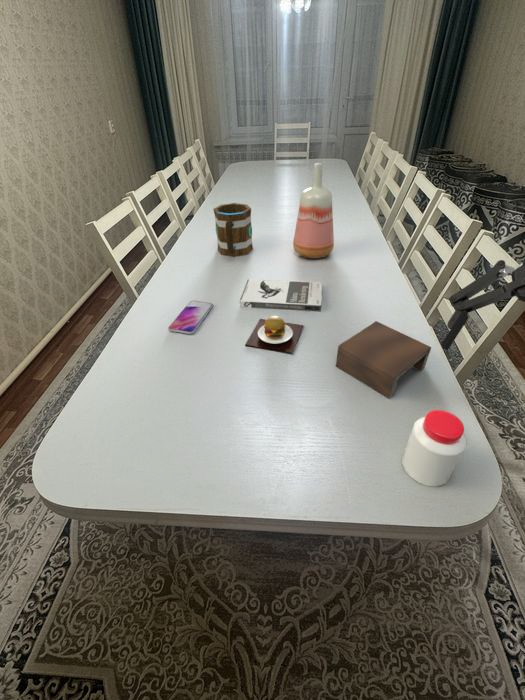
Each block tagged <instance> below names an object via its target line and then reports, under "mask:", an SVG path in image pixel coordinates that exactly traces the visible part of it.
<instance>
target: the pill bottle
mask: <svg viewBox="0 0 525 700" xmlns="http://www.w3.org/2000/svg"><path fill="white" fill-rule="evenodd" d="M408 437H409V438H408V441H407V443H406V445H405V449H404V451H403V453H402V457H401V463H402V464H401V465H402V467H403V469H404V471H405V472H406V474H407V475H408V476H409V477H410V478H411V479H412V480H414V481H416V482H417V483H419V484H421V485H423V486H428V487H441V486H442V485H445V484H446V483H448V481H449V479H450V478H451V476H452V475H453V472H454V471H455V469H456V467H457V465H458V463H459V461H460V459H461V458H462V455H463V453H464V451H465V450H466V448H467V444H468V443H467V436H466V434H465V426H464V423H463V422H462V420H461V419H460V418H459V417H458V416H456V415H455V414H453V413H452V412H449V411H446V410H442V409H434V410H430V411H429V412H428V413H427V414H426V415H424V416H422V417H420V418H418V419H416V421H415V422H414V424H413V426H412V430H411V432H410V434H409V436H408Z"/></svg>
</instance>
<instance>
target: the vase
mask: <svg viewBox="0 0 525 700" xmlns="http://www.w3.org/2000/svg"><path fill="white" fill-rule="evenodd" d="M334 231H335V230H334V212H333V195H332V192H331V191H330V190H329V189H327V188H325V187H323V163H322V162H315V163H314V164H313V175H312V185H311V187H308V188H305V189H304V190H303V191H302V192H301V195H300V199H299V205H298V211H297V216H296V222H295V229H294V236H293V242H292V246H293V250H294V252H295V253H296V254H297V255H299V256H301V257H302V258H306V259H319V258H324V257H326V256H328V255H330V254H331V253H332V251H333V250H334V246H335V233H334Z"/></svg>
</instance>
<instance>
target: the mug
mask: <svg viewBox="0 0 525 700" xmlns="http://www.w3.org/2000/svg"><path fill="white" fill-rule="evenodd" d="M212 210H213V213H214V219H215V233H216V234H215V235H216V237H217V238H216V239H217V251H218V252H219V254H220V255H221V256H227V257H232V258H235V257H240V256H247V255H248V254H249V253H250V252H252V251H253V250H254V246H253V226H252V208H251V207H250V206H249V205H248V204H247V203H237V202H233V203H223V204H219V205H218V206H216V207H214V208H213V209H212Z"/></svg>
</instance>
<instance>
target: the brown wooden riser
mask: <svg viewBox="0 0 525 700" xmlns="http://www.w3.org/2000/svg"><path fill="white" fill-rule="evenodd" d="M431 350H432V346H430V345H428V344H426V343H424V342H422V341H419V340H417V339H415V338H414V337H411V336H409V335H407V334H405V333H403V332H400V331H399V330H396V329H393V328H392V327H390V326H387V325H386V324H383V323H381V322H379V321H377V320H375V321H374V322H372V323H371V324H369V325H368V326H366V327H365V328H363V329H362V330H360V331H359V332H357V333H355V334H354V335H353V336H351V337H350V338H348V339H346V340H344V341H343V342H342V343H340V344H339V345H338V347H337V354H336V362H335V367H337V368H338V369H339V370H341V371H343V372H344V373H346V374H348V375H349V376H351V377H352V378H354V379H356V380H358V381H359V382H361V383H363V385H366V386H367V387H369V388H370V389H372V390H374V391H375V392H377V393H379V394H381V395H382V396H384V397H385V398H387V399H391V398H392V397H393V396H395V395H394V394H395V391H396V387H397V384H398V381H399V378H400V377H401V376H403V375H404V374H406V372H408V370H409V369H411V368H413V369H416V370H417V371H420V372H422V371H423V370H424V369H425V368H426V365H427V363H428V359H429V355H430V353H431Z"/></svg>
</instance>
